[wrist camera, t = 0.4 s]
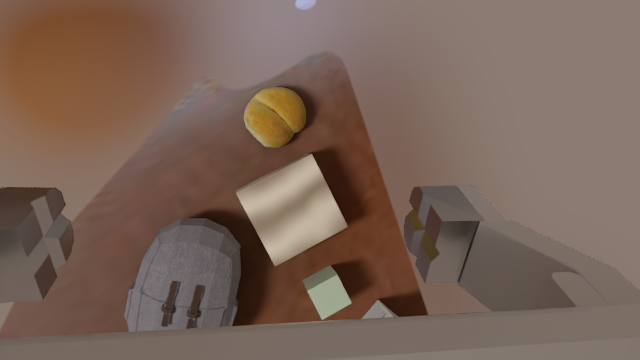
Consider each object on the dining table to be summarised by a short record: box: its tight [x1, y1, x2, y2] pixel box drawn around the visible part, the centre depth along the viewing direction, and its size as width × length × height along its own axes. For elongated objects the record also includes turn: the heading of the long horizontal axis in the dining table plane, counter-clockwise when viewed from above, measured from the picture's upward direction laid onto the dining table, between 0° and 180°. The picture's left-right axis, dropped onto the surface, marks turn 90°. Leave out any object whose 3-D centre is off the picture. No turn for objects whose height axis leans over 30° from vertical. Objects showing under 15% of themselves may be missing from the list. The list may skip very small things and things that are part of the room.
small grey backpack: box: [124, 218, 241, 332], centre depth 56 cm, size 15×8×20 cm
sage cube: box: [303, 265, 351, 320], centre depth 62 cm, size 5×5×5 cm
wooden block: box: [236, 154, 348, 266], centre depth 60 cm, size 12×12×5 cm
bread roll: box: [244, 87, 306, 148], centre depth 59 cm, size 8×9×4 cm
